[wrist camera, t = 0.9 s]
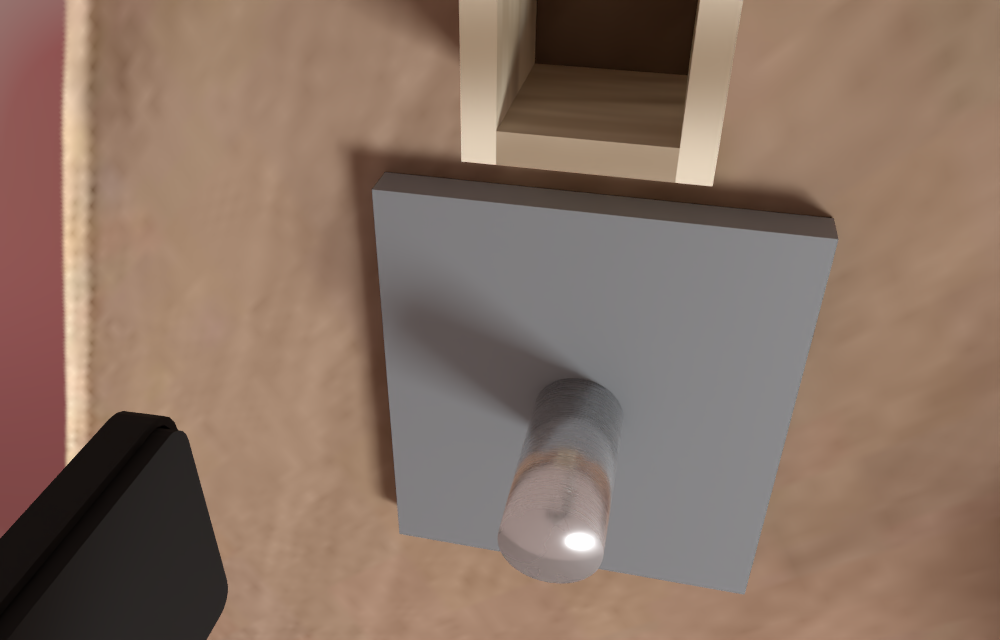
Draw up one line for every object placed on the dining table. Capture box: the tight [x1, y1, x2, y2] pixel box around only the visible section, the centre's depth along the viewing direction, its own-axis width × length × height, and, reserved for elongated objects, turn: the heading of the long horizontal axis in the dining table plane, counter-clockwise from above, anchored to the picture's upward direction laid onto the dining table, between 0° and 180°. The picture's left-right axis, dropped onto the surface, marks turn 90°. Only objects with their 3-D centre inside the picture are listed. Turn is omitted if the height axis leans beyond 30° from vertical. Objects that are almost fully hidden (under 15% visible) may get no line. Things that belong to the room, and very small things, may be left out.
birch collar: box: [459, 0, 743, 186], centre depth 24 cm, size 7×7×6 cm
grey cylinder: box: [497, 378, 623, 583], centre depth 32 cm, size 4×4×7 cm
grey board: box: [372, 172, 838, 594], centre depth 35 cm, size 18×16×2 cm
